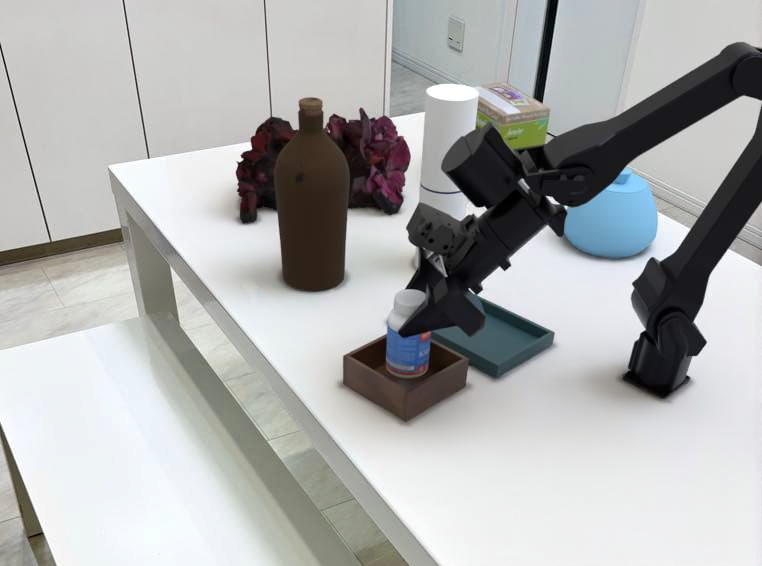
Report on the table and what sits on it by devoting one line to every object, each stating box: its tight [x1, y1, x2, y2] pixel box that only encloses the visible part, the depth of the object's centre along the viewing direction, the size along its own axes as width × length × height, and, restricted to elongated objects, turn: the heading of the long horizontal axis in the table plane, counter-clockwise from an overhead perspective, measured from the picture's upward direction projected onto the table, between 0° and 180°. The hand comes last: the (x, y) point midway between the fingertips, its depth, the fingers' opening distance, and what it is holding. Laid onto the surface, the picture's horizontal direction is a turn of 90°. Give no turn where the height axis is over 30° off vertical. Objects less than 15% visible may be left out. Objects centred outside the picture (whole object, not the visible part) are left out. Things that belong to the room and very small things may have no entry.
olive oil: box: [274, 96, 350, 292], centre depth 122 cm, size 11×11×25 cm
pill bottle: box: [386, 289, 431, 378], centre depth 105 cm, size 6×5×10 cm
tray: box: [431, 293, 556, 379], centre depth 119 cm, size 19×12×2 cm, turn 44°
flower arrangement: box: [235, 107, 412, 224], centre depth 146 cm, size 31×20×15 cm, turn 107°
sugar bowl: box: [564, 166, 659, 259], centre depth 138 cm, size 15×15×12 cm
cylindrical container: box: [414, 83, 479, 269], centre depth 126 cm, size 7×7×25 cm
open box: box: [342, 333, 470, 423], centre depth 109 cm, size 11×11×4 cm
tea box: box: [471, 81, 552, 189], centre depth 154 cm, size 15×10×15 cm, turn 25°
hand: (398, 322), depth 104 cm, fingers closed on pill bottle, 5 cm apart
